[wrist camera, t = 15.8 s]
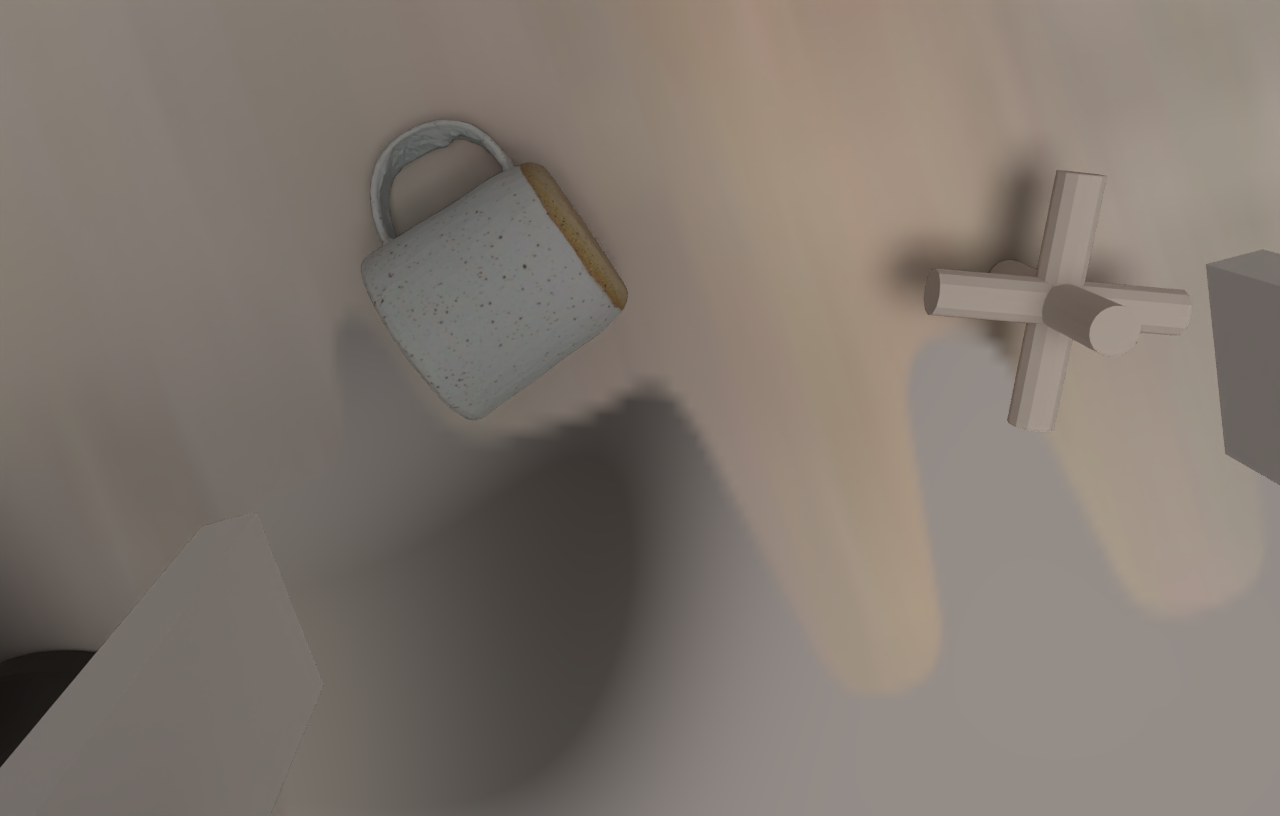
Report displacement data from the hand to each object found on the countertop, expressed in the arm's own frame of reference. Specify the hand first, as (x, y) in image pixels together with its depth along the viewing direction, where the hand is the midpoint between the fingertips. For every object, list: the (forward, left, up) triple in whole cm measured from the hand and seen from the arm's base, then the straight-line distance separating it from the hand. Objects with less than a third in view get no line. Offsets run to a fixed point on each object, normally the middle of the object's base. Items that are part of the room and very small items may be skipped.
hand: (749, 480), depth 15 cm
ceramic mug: (-6, 0, -33) cm, 34 cm away
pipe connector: (+15, -7, -33) cm, 37 cm away
